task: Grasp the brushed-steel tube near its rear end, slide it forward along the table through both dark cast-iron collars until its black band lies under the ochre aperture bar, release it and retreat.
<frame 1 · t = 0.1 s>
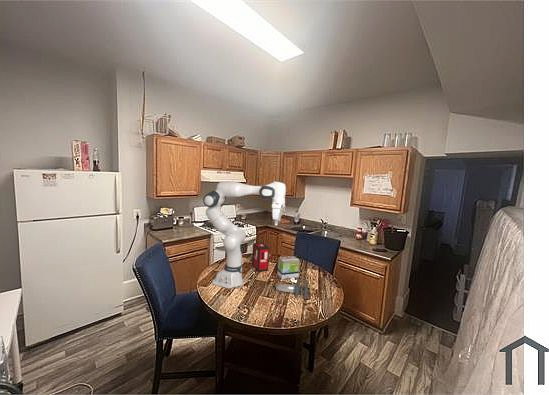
hand: (277, 223, 156), 48 cm above the table, fingers open, 8 cm apart
tea box: (287, 276, 183), on the table
tube: (288, 291, 158), on the table
cleaning product box: (259, 267, 196), on the table
collars: (297, 293, 157), on the table
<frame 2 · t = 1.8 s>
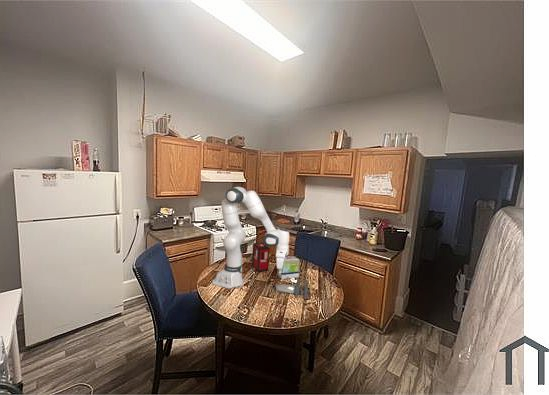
hand: (281, 270, 158), 15 cm above the table, fingers open, 8 cm apart
tube: (288, 291, 158), on the table, tilted 16°, touching collars
everything else where it was.
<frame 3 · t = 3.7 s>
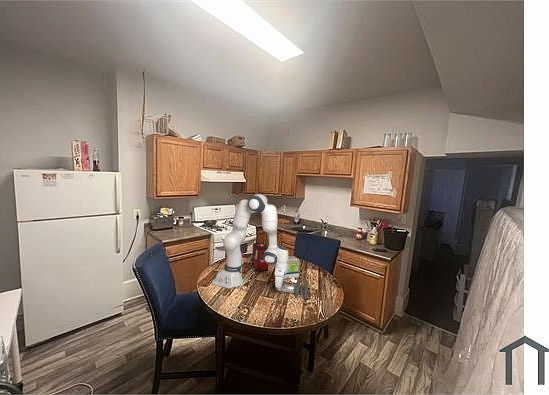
hand: (280, 287, 159), 2 cm above the table, fingers closed on tube, 5 cm apart
tube: (288, 291, 158), on the table, touching gripper
everything else where it was.
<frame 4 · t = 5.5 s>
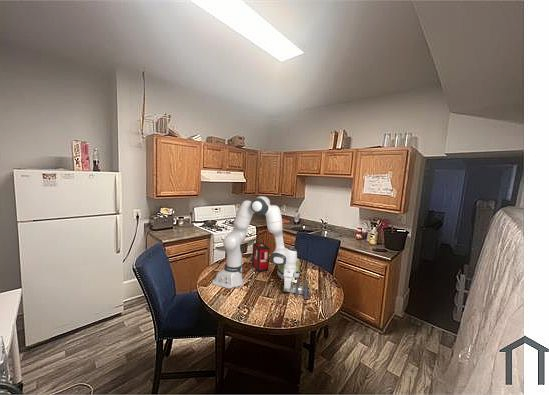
hand: (288, 288, 158), 2 cm above the table, fingers closed on tube, 5 cm apart
tube: (296, 292, 157), on the table, touching gripper
everything else where it was.
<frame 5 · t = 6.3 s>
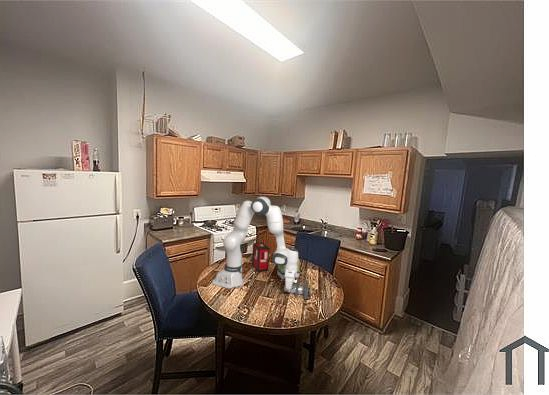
hand: (289, 289, 158), 2 cm above the table, fingers closed on tube, 5 cm apart
tube: (297, 293, 157), on the table, touching gripper
everything else where it was.
when the fingers open (2 cm above the table, at t = 6.8 s): tube stays where it is, on the table.
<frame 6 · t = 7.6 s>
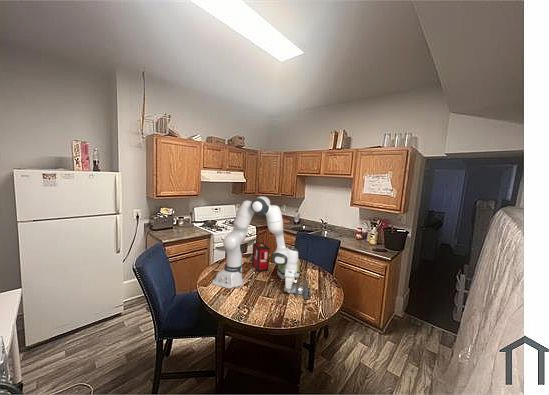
hand: (289, 288, 158), 2 cm above the table, fingers open, 8 cm apart
tube: (297, 292, 157), on the table, tilted 8°
everything else where it was.
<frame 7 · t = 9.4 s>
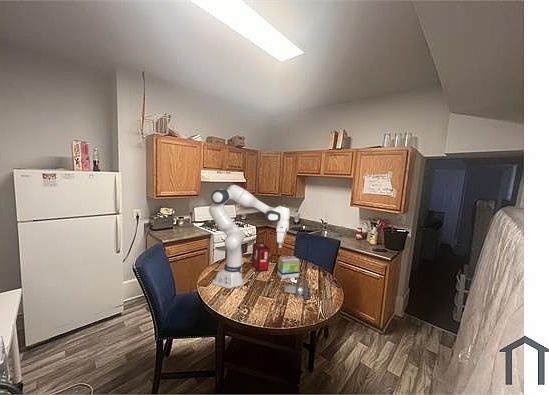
hand: (281, 245, 165), 30 cm above the table, fingers open, 8 cm apart
tube: (297, 292, 157), on the table, tilted 18°, touching collars
everything else where it was.
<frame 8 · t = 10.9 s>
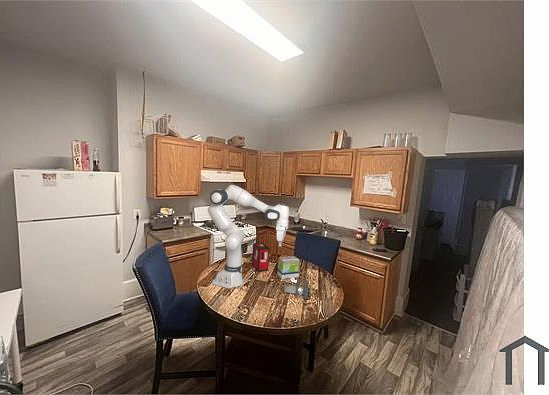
hand: (281, 244, 165), 31 cm above the table, fingers open, 8 cm apart
nothing on the table moved.
at the end: tube 1.4 cm from the target spot, on the table; tube moved 5.9 cm from its start; the gripper is holding nothing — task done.
